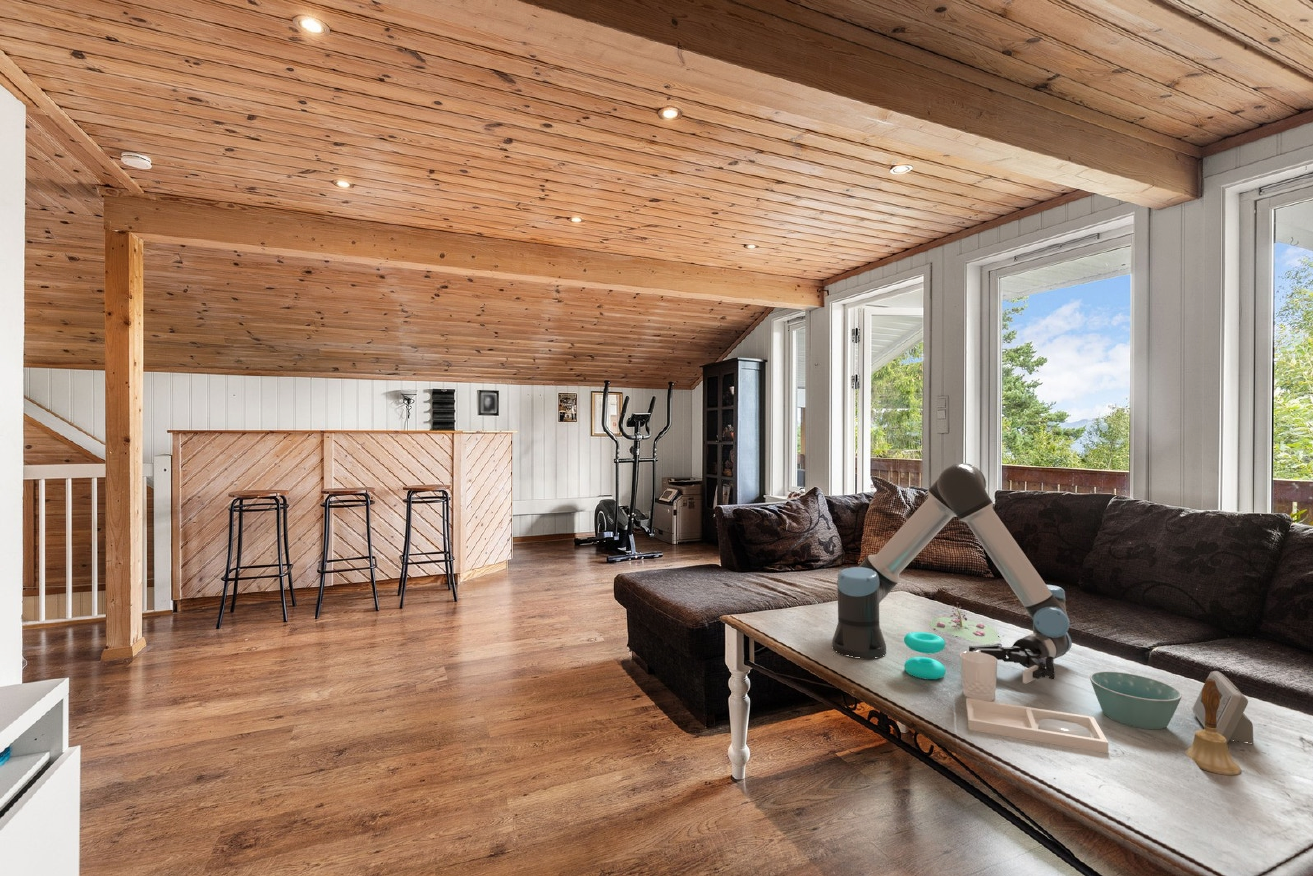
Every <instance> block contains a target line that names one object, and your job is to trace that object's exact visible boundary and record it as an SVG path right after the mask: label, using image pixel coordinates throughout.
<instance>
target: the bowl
mask: <svg viewBox="0 0 1313 876" xmlns="http://www.w3.org/2000/svg"><path fill="white" fill-rule="evenodd" d="M1089 679H1090V683H1091V685H1092V688H1093V691H1094V694H1095V697H1096V698H1097V701H1098V703H1099V706H1100V709H1101V710H1102V713H1103V714H1104V715H1105V716H1107V717H1108V718H1109V719H1111V720H1112V721H1115V722H1117V723H1120V724H1123V725H1126V726H1128V727H1129V726H1130V727H1133V728H1138V729H1145V730H1161V729H1165V728H1167V727H1168V726H1169V724H1170V722H1171V720H1172V719H1173V716H1174V715H1175V713H1176V711H1177V708H1178V706H1179V704H1180V701H1181V699H1182V696H1183V695H1182V693H1181V691H1180V690H1178V689H1177V688H1175V687H1174V686H1172V685H1170V684H1168V683H1165V682H1162V681H1160V680H1157V679H1153V678H1152V677H1150V678H1149V677H1146V676H1142V675H1137V674H1133V673H1127V672H1119V671H1096V672H1093V673H1091V674H1090V676H1089Z"/></svg>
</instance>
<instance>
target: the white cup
mask: <svg viewBox="0 0 1313 876" xmlns="http://www.w3.org/2000/svg"><path fill="white" fill-rule="evenodd" d="M959 662H960V663H959V665H960V679H961V687H962V694H963V695H964V696H965V697H966V698H970V699H977V700H984V701H990V702H992V701H995V699H996V690H997V677H998V674H997V673H998V660H997V659H996V658H995V657H994V656H992V655H989V654H985V653H981V652H969V651H963V652H961V653H959Z"/></svg>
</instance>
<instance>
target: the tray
mask: <svg viewBox="0 0 1313 876" xmlns="http://www.w3.org/2000/svg"><path fill="white" fill-rule="evenodd" d="M965 701H966V705H965V707H966V715H967V716H966V718H967V725H968V730H969V731H972V732H973V731H974V732H981V733H985V734H986V733H987V734H992V735H998V736H1003V737H1009V738H1015V739H1016V738H1017V739H1022V740H1026V741H1027V740H1029V741H1033V742H1034V741H1035V742H1040V743H1046V744H1051V745H1057V746H1061V747H1062V746H1063V747H1067V748H1068V747H1069V748H1076V749H1081V750H1085V751H1093V752H1100V753H1105V754H1109V753H1110V752H1109V741H1108V740H1107V738H1106V736H1105V734H1104V732H1103V730H1102V729H1101V727H1100V726H1099V724H1098V722H1097V720H1096V718H1095V716H1090V715H1084V714H1076V713H1070V712H1064V711H1063V712H1062V711H1057V710H1056V711H1055V710H1051V709H1050V710H1049V709H1043V708H1038V707H1037V708H1035V707H1028V706H1022V705H1016V704H1009V703H1004V702H998V701H997V702H996V701H984V700H977V699H972V698H969V697H966V698H965ZM1042 719H1061V720H1066V721H1070V722H1073V723H1076V724H1079V725H1081V726H1083V727H1085V728H1086V729H1088V730H1089V731H1090V733H1091V738H1090V737H1084V736H1077V735H1071V734H1065V733H1059V732H1053V731H1046V730H1040V729H1038V722H1039V721H1040V720H1042Z"/></svg>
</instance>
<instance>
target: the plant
mask: <svg viewBox="0 0 1313 876" xmlns="http://www.w3.org/2000/svg"><path fill="white" fill-rule="evenodd" d="M956 604H957V605H956V606H955V604H952V605H950V607H952V610H951V612H952V613H953V614H951V615H950V617H944V616H942V617H936V618H935V619H933V620H932V621H931V622H930V624H929V628H931V627H935V628H937V629H938V630H939V631H941V632H940V633H942V632H950V633H951V634H952V635H954V636H953V637H955V636H961V637H963V638H965V639H964V640H967V641H970V642H973V641H980V642H981V643H982V644H981V645H990V644H991V645H993V644H994V643H995V642H994V641H1000V642H1001V640H1000V639H999V637H997V636H1000V635H999V634H998V632H997V631H996V629H995V628H993V627H991V626H989V625H987V624H985V623H984V622H978V621H972V620H971V621H970V620H968V618H967V616H966V615H967V614H968V613H967V612H966V611H962V610H961V609H962V606H958V604H959V602H956ZM959 609H960V610H959ZM954 610H955V611H954ZM952 617H957V618H952ZM939 631H938V632H939ZM952 635H951V636H952ZM991 641H992V642H991ZM995 644H996V643H995Z"/></svg>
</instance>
